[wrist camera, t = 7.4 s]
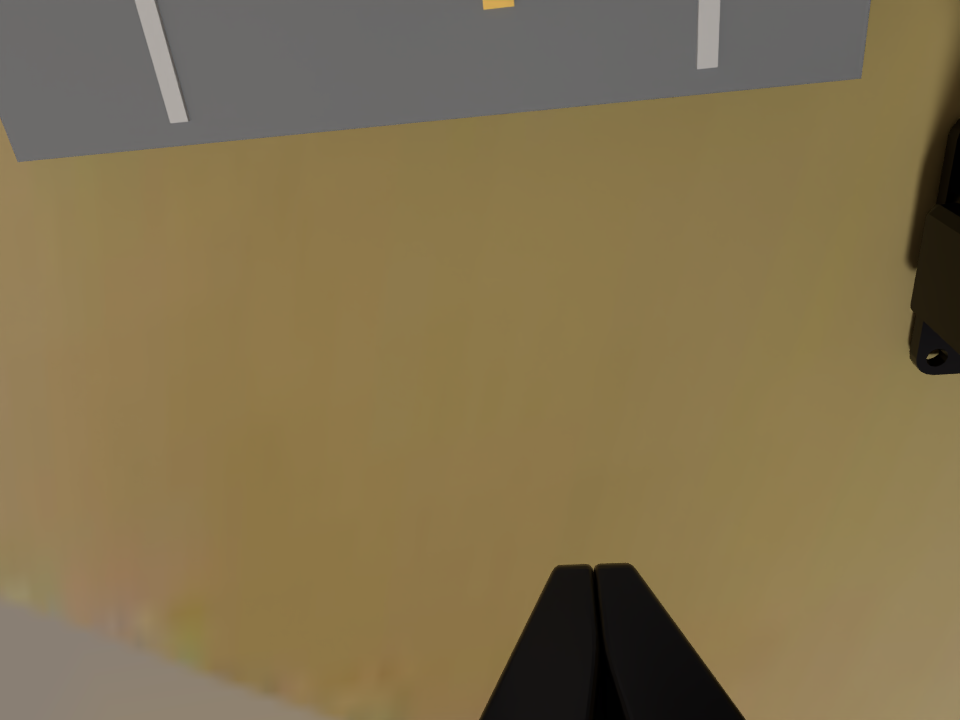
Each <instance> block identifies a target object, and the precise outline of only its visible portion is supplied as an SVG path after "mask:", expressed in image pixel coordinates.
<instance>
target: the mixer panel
mask: <svg viewBox="0 0 960 720" xmlns="http://www.w3.org/2000/svg"><path fill="white" fill-rule="evenodd" d="M870 2H871V0H0V118H1V120H2V123H3V125H4V128H5V130H6V133H7V136H8V138H9V141H10V143H11V146H12V148H13V151H14V153H15V156H16V159H17V161H18V162H22V161H32V160H42V159H53V158H63V157H73V156H83V155H93V154H103V153H113V152H123V151H133V150H143V149H154V148H164V147H174V146H184V145H194V144H204V143H214V142H224V141H234V140H244V139H255V138H265V137H275V136H285V135H295V134H305V133H315V132H325V131H335V130H345V129H356V128H366V127H376V126H386V125H396V124H406V123H416V122H426V121H436V120H446V119H457V118H467V117H477V116H487V115H497V114H507V113H517V112H527V111H537V110H547V109H558V108H568V107H578V106H588V105H598V104H608V103H618V102H628V101H638V100H648V99H659V98H669V97H679V96H689V95H699V94H709V93H719V92H729V91H739V90H749V89H759V88H770V87H780V86H790V85H800V84H810V83H820V82H830V81H840V80H850V79H860V78H861V75H862V67H863V59H864V51H865V43H866V34H867V26H868V18H869V10H870Z"/></svg>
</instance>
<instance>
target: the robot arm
mask: <svg viewBox="0 0 960 720" xmlns="http://www.w3.org/2000/svg"><path fill="white" fill-rule="evenodd" d="M911 309H912V311H914V312H915V313H916V318H915V324H914V329H913V335H912V341H911V346H910V359H911V361H912V362H913V364H914V365H915V366H916V367H917V368H918V369H919V370H920V371H921V372H923V373H925V374H930V375H940V374H958V373H960V119H958V120H957V121H956V123H955V124H954V125H953V126H952V128H951V130H950V133H949V136H948V141H947V146H946V152H945V157H944V163H943V168H942V174H941V180H940V185H939V191H938V196H937V202H936V205H935V206H934V207H933V208H932V209H931V211H930V212H929V213H928V214H927V215H926V220H925V225H924V231H923V237H922V242H921V248H920V254H919V259H918V265H917V271H916V277H915V282H914V288H913V294H912V299H911ZM936 349H940V352H939V354H938V355H937V356H935V357H934V358H931V359H926V358H927V356H928V354H929V353H930V352H932V351H933V350H936ZM479 720H746V719H745V718H744V717H743V715H742V714H741V712H740V711H739V710H738V708H737V707H736V706H735V704H734V703H733V702H732V700H731V699H730V697H729V696H728V695H727V693H726V692H725V691H724V689H723V688H722V686H721V685H720V684H719V682H718V681H717V680H716V678H715V677H714V675H713V674H712V673H711V671H710V670H709V669H708V667H707V666H706V664H705V663H704V662H703V660H702V659H701V658H700V656H699V655H698V654H697V652H696V651H695V649H694V648H693V647H692V645H691V644H690V643H689V641H688V640H687V638H686V637H685V636H684V634H683V633H682V632H681V630H680V629H679V627H678V626H677V625H676V623H675V622H674V621H673V619H672V618H671V617H670V615H669V614H668V612H667V611H666V610H665V608H664V607H663V606H662V604H661V603H660V601H659V600H658V599H657V597H656V596H655V595H654V593H653V592H652V590H651V589H650V588H649V586H648V585H647V584H646V582H645V581H644V580H643V578H642V577H641V575H640V574H639V573H638V571H637V570H636V569H635V568H634V566H632V565H631V564H629V563H607V564H598V565H596V566H595V568H594V572H593V569H592V567H591V566H590V565H588V564H576V565H558V566H557V567H555V568H554V569H553V571H552V573H551V575H550V577H549V579H548V581H547V583H546V585H545V587H544V589H543V591H542V593H541V595H540V597H539V599H538V601H537V603H536V605H535V607H534V609H533V611H532V613H531V615H530V617H529V619H528V621H527V623H526V626H525V628H524V630H523V632H522V634H521V636H520V638H519V640H518V642H517V644H516V646H515V648H514V650H513V652H512V654H511V656H510V658H509V660H508V662H507V664H506V666H505V668H504V670H503V672H502V674H501V676H500V678H499V680H498V682H497V685H496V687H495V689H494V691H493V693H492V695H491V697H490V699H489V701H488V703H487V705H486V707H485V709H484V711H483V713H482V715H481V717H480V719H479Z"/></svg>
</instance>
